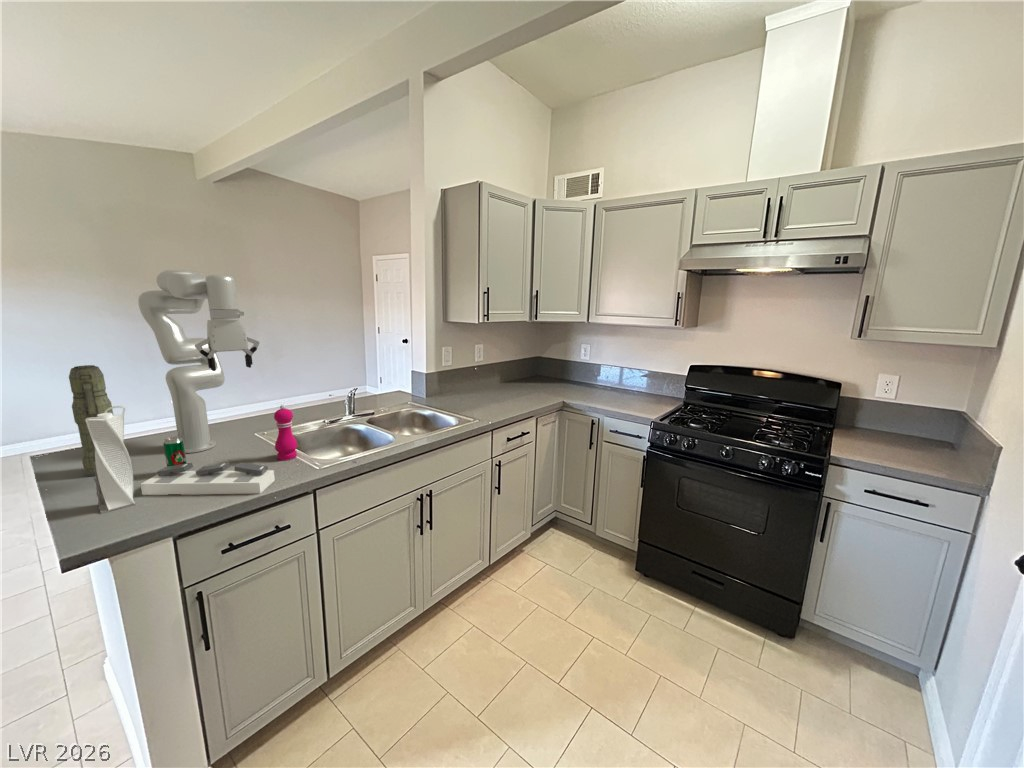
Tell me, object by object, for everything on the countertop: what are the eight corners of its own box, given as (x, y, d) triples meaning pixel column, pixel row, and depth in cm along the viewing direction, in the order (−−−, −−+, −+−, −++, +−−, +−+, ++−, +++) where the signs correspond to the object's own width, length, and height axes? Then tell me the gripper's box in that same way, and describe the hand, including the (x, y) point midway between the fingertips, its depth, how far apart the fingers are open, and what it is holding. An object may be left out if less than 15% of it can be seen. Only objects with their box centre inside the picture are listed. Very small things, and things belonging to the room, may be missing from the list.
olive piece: (88, 480, 127) (66, 370, 120) (82, 470, 134) (61, 365, 127) (126, 471, 134) (107, 367, 127) (119, 462, 141) (101, 362, 134)
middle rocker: (197, 477, 124) (195, 471, 124) (204, 472, 128) (203, 466, 127) (224, 472, 125) (222, 466, 124) (230, 467, 128) (229, 462, 128)
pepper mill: (293, 452, 155) (288, 401, 150) (301, 457, 150) (297, 404, 146) (272, 457, 149) (267, 404, 145) (281, 462, 145) (275, 408, 140)
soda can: (171, 470, 136) (166, 436, 133) (190, 468, 137) (185, 435, 135) (165, 476, 131) (159, 441, 129) (184, 474, 133) (179, 440, 130)
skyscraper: (138, 494, 119) (122, 402, 114) (143, 504, 114) (126, 408, 108) (98, 504, 113) (79, 408, 107) (101, 515, 108) (81, 414, 102)
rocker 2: (234, 472, 125) (234, 466, 125) (240, 467, 128) (241, 462, 128) (261, 476, 126) (262, 470, 126) (267, 471, 130) (267, 465, 129)
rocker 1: (158, 477, 123) (156, 471, 123) (167, 472, 127) (165, 466, 126) (185, 473, 124) (183, 467, 123) (193, 468, 127) (191, 462, 127)
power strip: (142, 494, 119) (140, 483, 118) (165, 481, 128) (163, 470, 127) (260, 493, 122) (259, 482, 122) (274, 480, 131) (273, 469, 130)
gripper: (252, 314, 137) (258, 364, 140) (188, 315, 125) (196, 370, 128) (259, 315, 132) (265, 367, 135) (192, 316, 120) (201, 373, 123)
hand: (231, 368), depth 132 cm, fingers open, 9 cm apart
